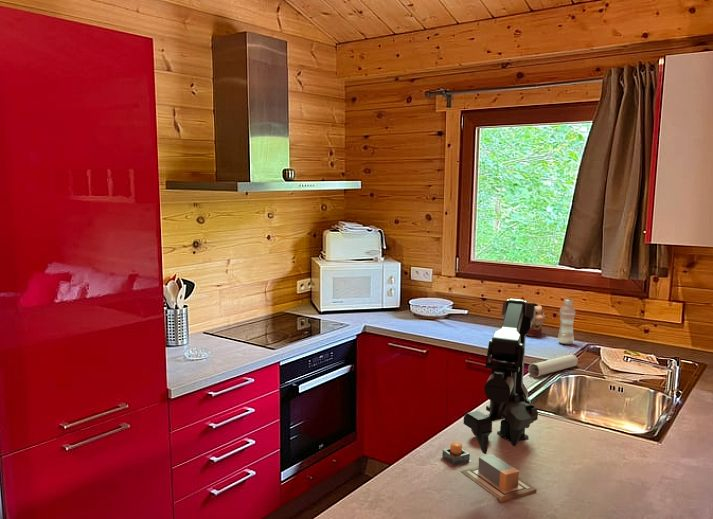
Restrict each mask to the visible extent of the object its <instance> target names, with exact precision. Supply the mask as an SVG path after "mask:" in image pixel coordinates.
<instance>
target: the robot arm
mask: <svg viewBox="0 0 713 519" xmlns="http://www.w3.org/2000/svg"><path fill="white" fill-rule="evenodd" d="M529 303H530V302H527V300H525V299H517V298H509V299H508V298H507V300H506V301H503V302H502V310H501V317H502V318H503V320H502V324H501V328H500V329H497V330H496V331H495V332H494V333H493V335H492V338H491V339H489V341H488V347H487V352H486V359H485V365H484V368H485V369H491V373H490V375H489V377H488V379H487V381H486V383H485V385H484V388H483V389H484V394H485V396H486V398H487V399H488V400H489V405H486V406H485V411H487V412H489V413H488V414H485V413H484V414H483V412H481V411H480V410H475V411H469V412H466V413H465V414H464V416H463V425H465V426H467V427H468V428H469V429H472V430H473V432H474V434H475V435H474V434H473V435H474V436H475V437H476V440H477V442H478V445H479V448H480V450H481V452H482V454H484V455H487V452H488V446H489V436H490V435H491V434H492V433H493V430H492V431H491V430H490V429H491V427H492V428H493V423H494V422H496V423H497V422H500V426H499V429H500V430H498V431H497V432H496V434H497V435H499V436H501V437H503V439H506V440H507V441H509V442H511V446H512V447H514V448H515V447H517V445H518V443H519V441H522V440H525V439H529V435H527V434H526V429H529V428H530V427H531V424H533V423H534V422H535V421H537V420H538V419H539V416H538V415H539V411H538V407H537V406H536V405H535V404H534V403H531V400H530V399H529V391H528V389H527V387H526V386H525V384H524V370H525V356H526V355H525V352H526V336H527V335H526V334H527V333H528V331H529V330H530V329H531V326H532V321H535V312H536V310H535V306H534V305H531V304H529ZM473 432H472V433H473ZM489 434H490V435H489Z"/></svg>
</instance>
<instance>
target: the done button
mask: <svg viewBox="0 0 713 519" xmlns="http://www.w3.org/2000/svg"><path fill="white" fill-rule="evenodd" d="M449 448H450V453H451V454H452V455H454V456H457V455H461V454H462V449H463V443H461V442H456V441H454V442H451V443H450V447H449Z"/></svg>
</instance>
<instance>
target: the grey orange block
mask: <svg viewBox="0 0 713 519" xmlns="http://www.w3.org/2000/svg"><path fill="white" fill-rule="evenodd" d="M478 466H479V467H478ZM478 466H477V467H478V472H479V473H480V474H482V475H483V476H485V477H486V478H487V479H489V480H490V481H492V482H493V483H495V484H496V485H497V486H499V487H500V488H501V489H503V490H504V491H507V490H510V489H514V488H517V487H518V482H519V478H520V470H518V469H517V468H516V467H513V466H512V465H510V464H508V463H507V462H505V461H503V460H502V459H500V458H499V457H497V456H496V455H494V454H492V453H490V454H484V455H482V456H479V457H478Z"/></svg>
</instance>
